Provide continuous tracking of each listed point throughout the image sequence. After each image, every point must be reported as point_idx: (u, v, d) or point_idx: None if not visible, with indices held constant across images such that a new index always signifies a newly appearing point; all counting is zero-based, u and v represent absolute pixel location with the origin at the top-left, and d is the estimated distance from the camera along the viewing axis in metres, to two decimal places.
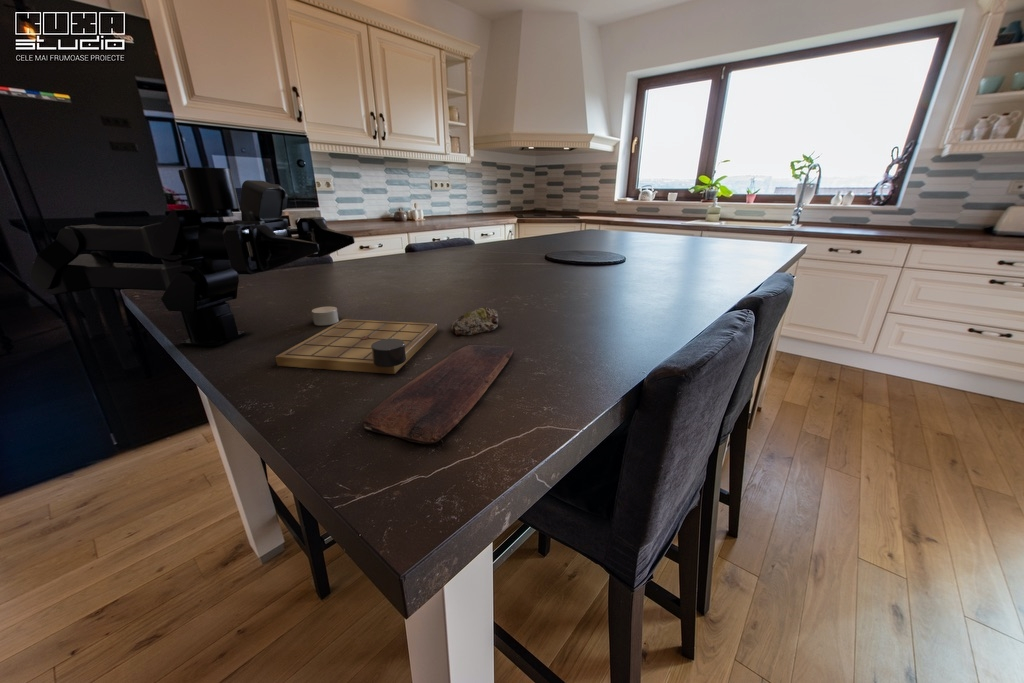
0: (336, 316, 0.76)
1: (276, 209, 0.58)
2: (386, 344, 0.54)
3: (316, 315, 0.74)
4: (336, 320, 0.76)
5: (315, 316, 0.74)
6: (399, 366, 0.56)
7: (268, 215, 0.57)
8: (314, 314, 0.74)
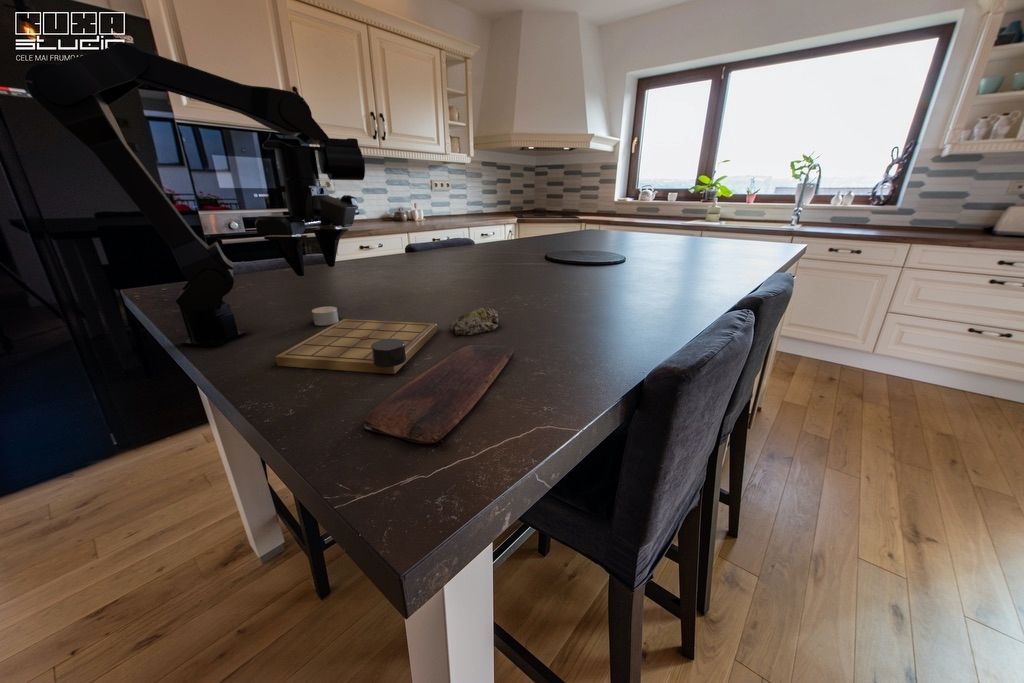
0: (336, 316, 0.76)
1: None
2: (386, 344, 0.54)
3: (316, 315, 0.74)
4: (336, 320, 0.76)
5: (315, 316, 0.74)
6: (399, 366, 0.56)
7: None
8: (314, 314, 0.74)
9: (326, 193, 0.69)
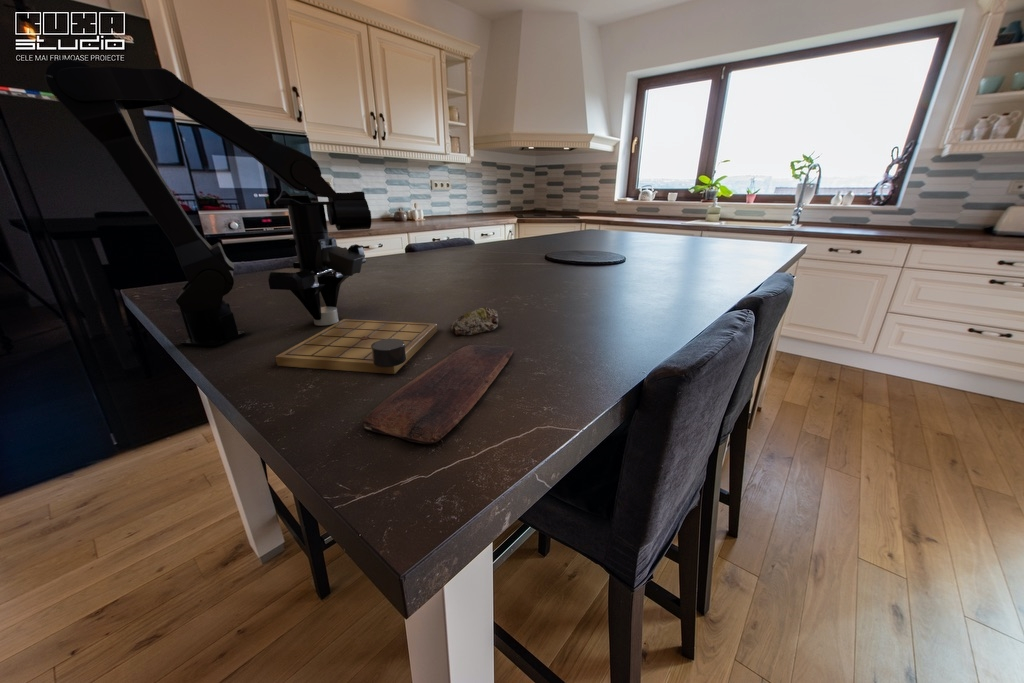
0: (336, 316, 0.76)
1: None
2: (386, 344, 0.54)
3: None
4: (336, 320, 0.76)
5: None
6: (399, 366, 0.56)
7: None
8: None
9: (334, 244, 0.72)
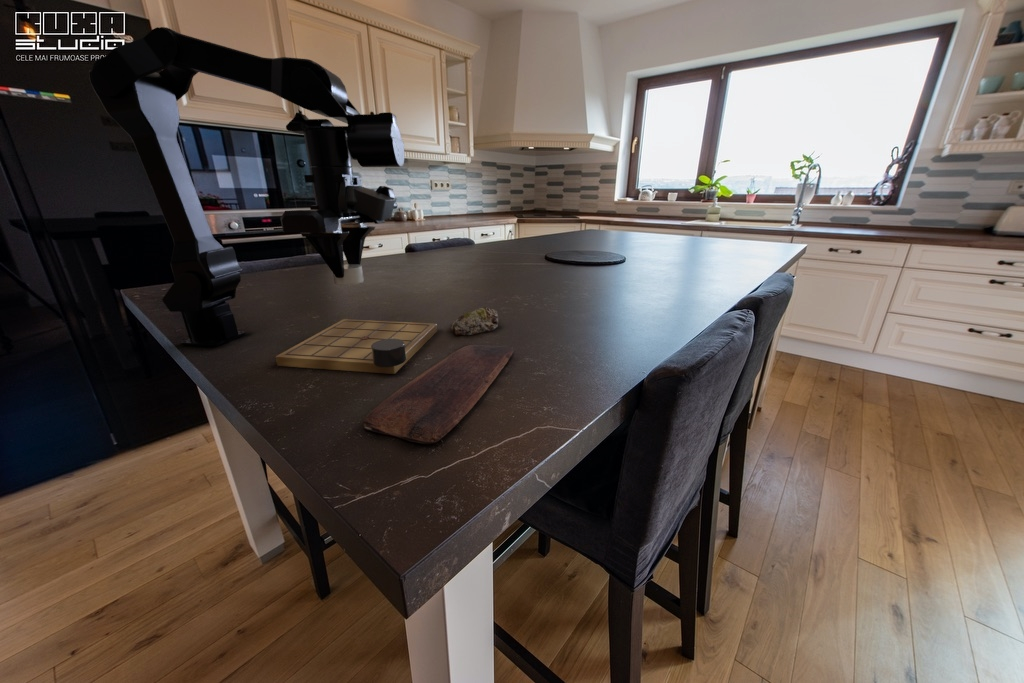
0: (361, 275, 0.63)
1: None
2: (386, 344, 0.54)
3: None
4: (361, 279, 0.63)
5: None
6: (399, 366, 0.56)
7: None
8: None
9: (359, 184, 0.59)
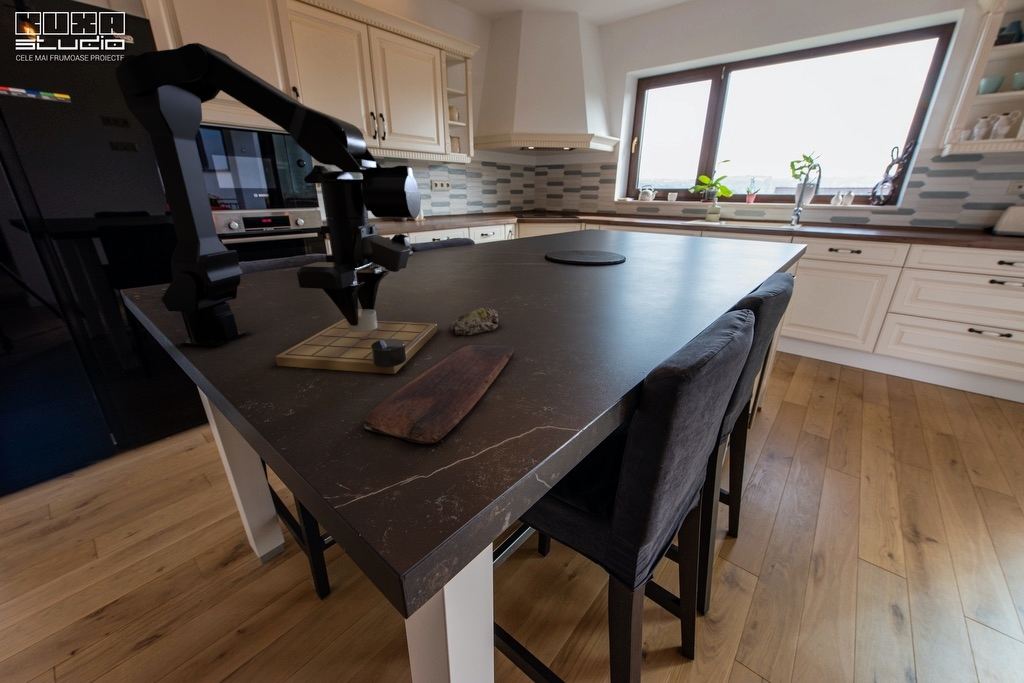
0: (375, 321, 0.62)
1: None
2: (386, 344, 0.54)
3: None
4: (375, 325, 0.62)
5: None
6: (399, 366, 0.56)
7: None
8: None
9: (375, 232, 0.59)
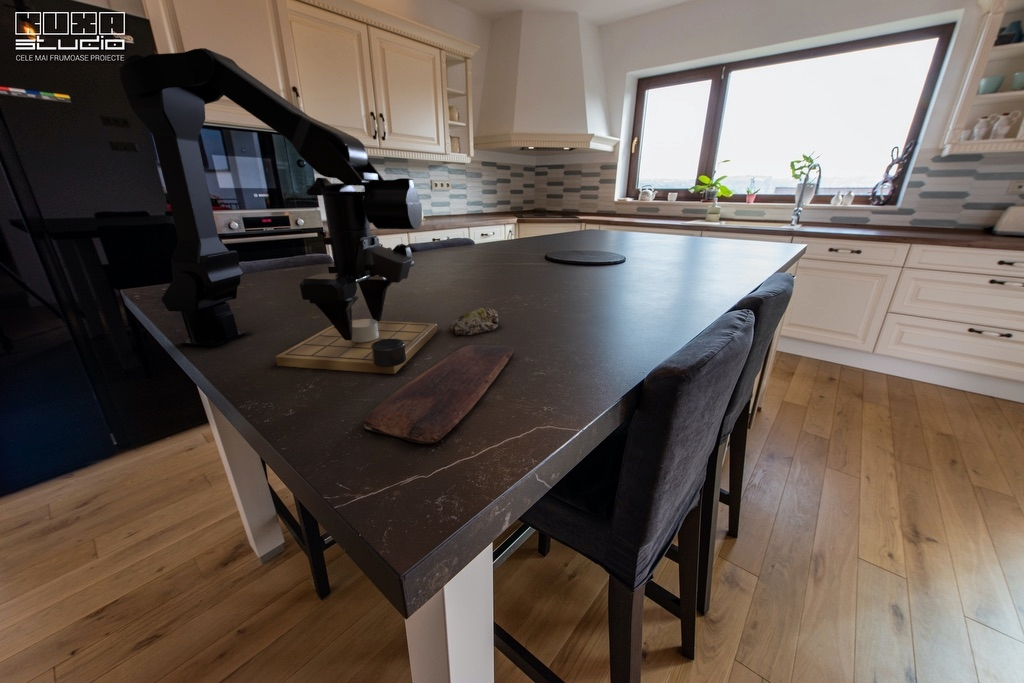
0: (377, 331, 0.63)
1: None
2: (386, 344, 0.54)
3: (353, 330, 0.61)
4: (377, 335, 0.63)
5: None
6: (399, 366, 0.56)
7: None
8: None
9: (377, 243, 0.59)
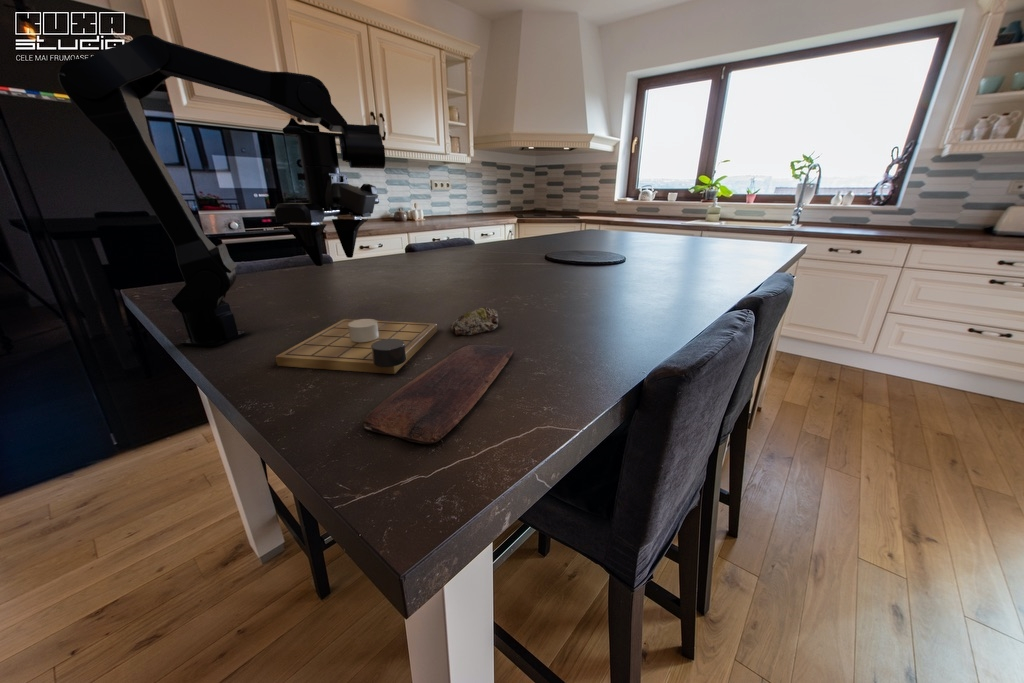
0: (377, 331, 0.63)
1: None
2: (386, 344, 0.54)
3: (353, 330, 0.61)
4: (377, 335, 0.63)
5: (352, 331, 0.61)
6: (399, 366, 0.56)
7: None
8: (351, 329, 0.61)
9: (346, 181, 0.68)
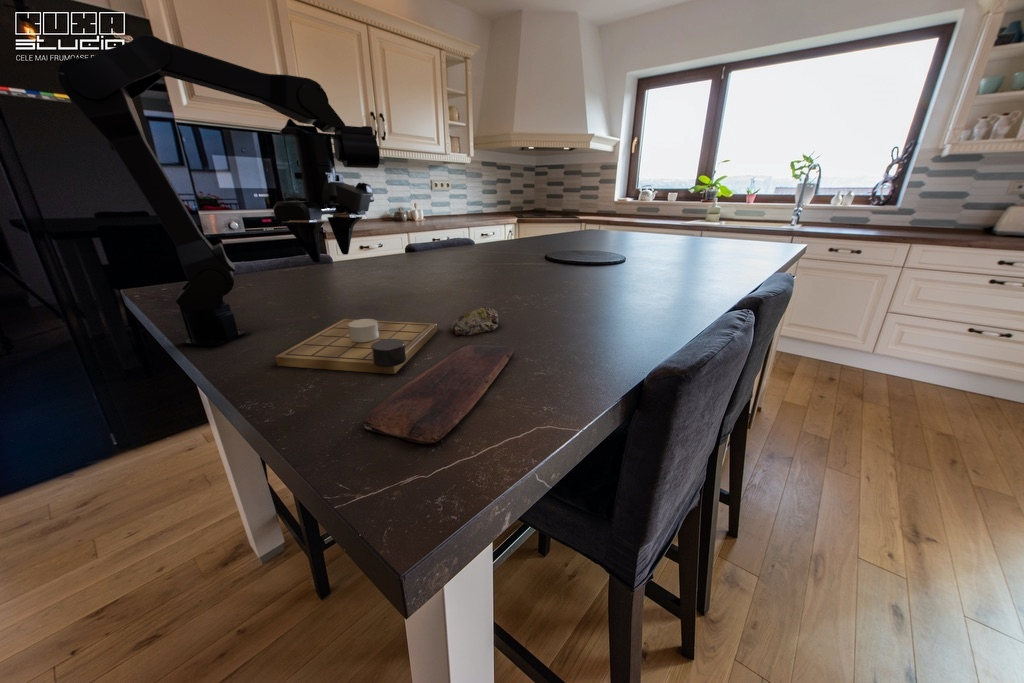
0: (377, 331, 0.63)
1: None
2: (386, 344, 0.54)
3: (353, 330, 0.61)
4: (377, 335, 0.63)
5: (352, 331, 0.61)
6: (399, 366, 0.56)
7: None
8: (351, 329, 0.61)
9: (341, 180, 0.70)
